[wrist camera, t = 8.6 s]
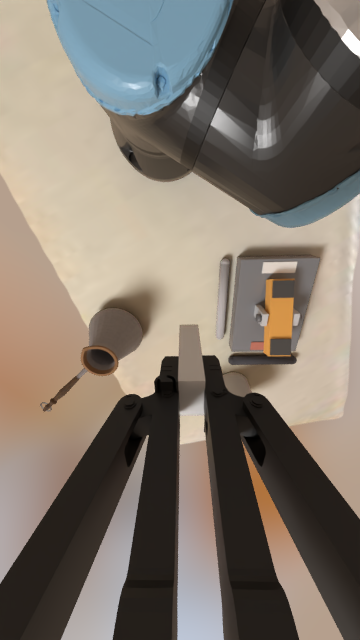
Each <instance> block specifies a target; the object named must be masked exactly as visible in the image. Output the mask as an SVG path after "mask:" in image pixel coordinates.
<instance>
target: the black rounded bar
mask: <svg viewBox="0 0 360 640" xmlns="http://www.w3.org/2000/svg"><path fill="white" fill-rule="evenodd" d="M228 361H229V363H230V364H231V365H258V364H295V363H296V361H297V360H296V358H295V357H294V356H231V357H230V358H229V360H228Z"/></svg>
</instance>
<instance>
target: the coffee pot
mask: <svg viewBox="0 0 360 640" xmlns="http://www.w3.org/2000/svg"><path fill="white" fill-rule="evenodd" d="M142 336H143V333H142V328H141V325H140V323H139V321H138V320H137V319H136V318H135V317H134V316H133V315H132V314H131V313H129V312H127V311H125V310H123V309H118V308H107V309H104V310H101V311H99V312H98V313H96V314H95V315H94V316H93V318H92V319H91V321H90V324H89V346H88V347H85V348H83V350H82V354H81V362H82V365H83V366H84V369H83V370H82V371H81V372H80V373H79V374H78V375H77V376H75V377H74V378H73V379H72V380H71V381H70V382H69V383H68V384H67V385H65V386H64V387H63V388H62V389H61V390H60V391H59V392H58V393H57V395H56V396H55V397H54V398H53V399H51V400H50V403H49V404H47V403H45V402H42V403H45V404H47V405H46V406H45V407H44V408H43V407H42V403H41V404H40V406H41V407H42V408H43V411H50V410H48V409H49V408H51V406H52V405H53V404H56V403H57V400H58V399H60V398H61V397H62V396H64V395H65V394H66V393H67V392H68V391H69V390H70V389H71V387H72V386H73V385H74V384H75V383H76V382H77V381H78V380H79V379H80V377H82V375H84V374H85V373H86V372H87V371H89V372H91V373H92V374H95V375H98V376H107V375H110V374H112V373H114V372H115V371H116V369H117V367H118V360H120V359H122V358H123V357H125V356H127V355H128V354H130V353H131V352H133V351H135V350H136V349H137V348H138V347H139V345H140V343H141V341H142ZM51 410H52V408H51Z"/></svg>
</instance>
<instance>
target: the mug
mask: <svg viewBox="0 0 360 640" xmlns="http://www.w3.org/2000/svg"><path fill="white" fill-rule="evenodd" d="M223 379H224V383H225V386H226V388H227V389H228V391H229V392H231V393H232V394H234V395H237V396H241V397H245V396H246V394H249V393H252V391H251V389H250V386H249V383H248V381H247V379H246V377H245V376H243V375H242V374H240V373H236V372H230V373H226V374H223Z"/></svg>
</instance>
